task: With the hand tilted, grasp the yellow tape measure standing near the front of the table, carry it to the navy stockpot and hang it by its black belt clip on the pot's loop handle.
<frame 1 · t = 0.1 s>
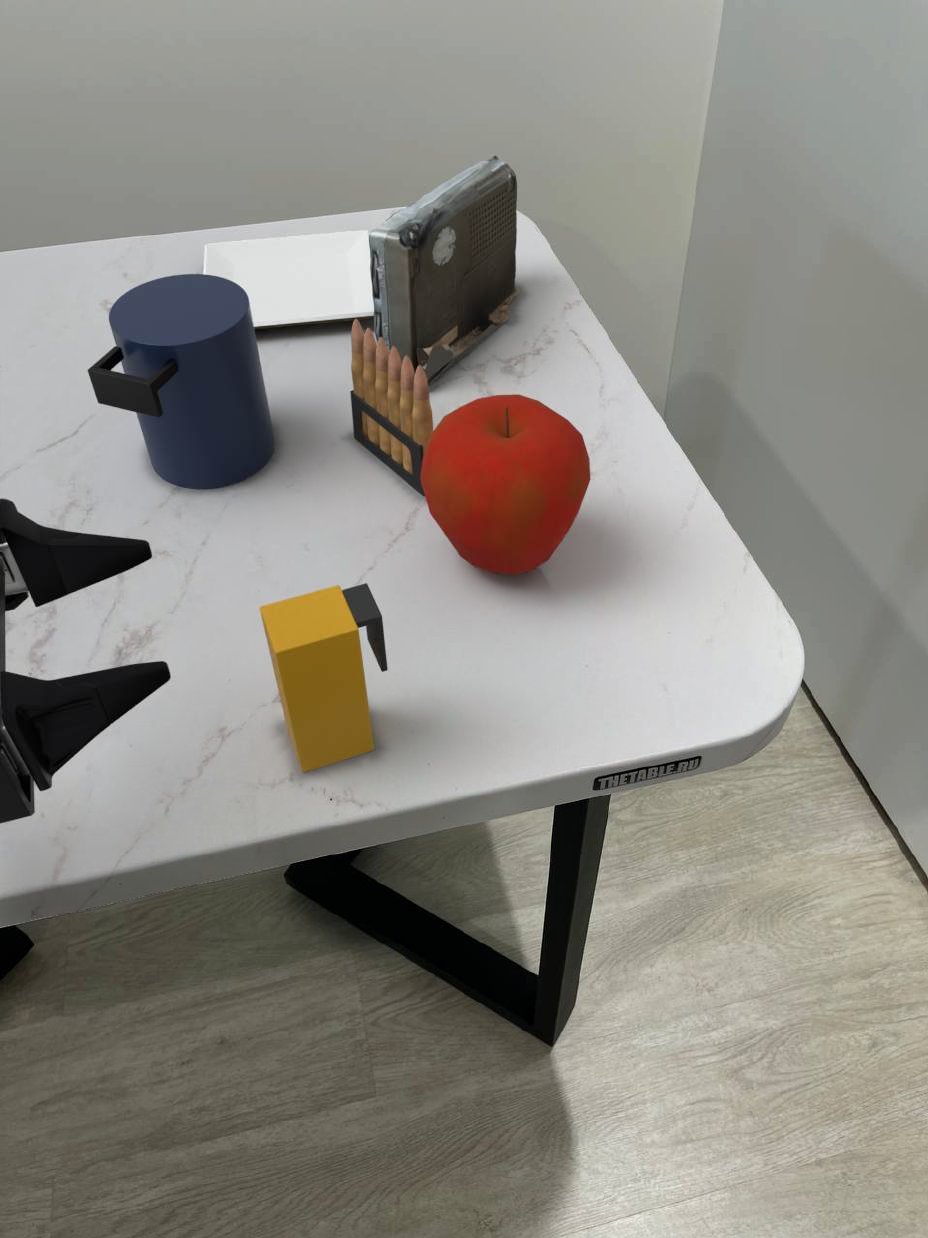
hand: (159, 606, 53), 18 cm above the table, tool horizontal, fingers open, 9 cm apart
plate: (293, 294, 110), on the table
ammunition clip: (396, 463, 89), on the table
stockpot: (213, 449, 91), on the table
radio: (447, 330, 104), on the table
apple: (504, 557, 81), on the table
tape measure: (330, 739, 69), on the table
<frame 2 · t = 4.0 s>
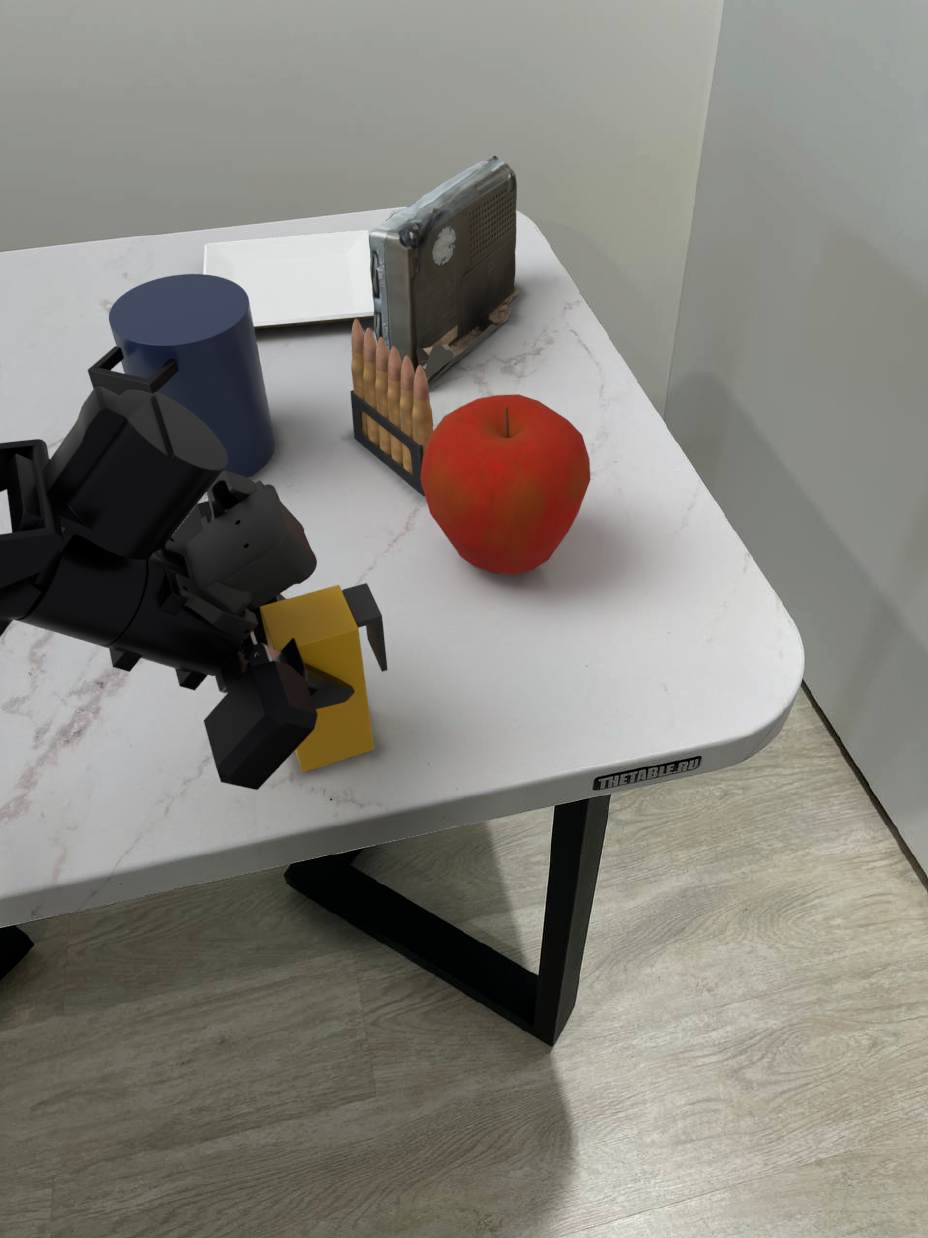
hand: (340, 670, 64), 7 cm above the table, tool tilted 45°, fingers closed on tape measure, 4 cm apart
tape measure: (330, 739, 69), on the table, touching gripper
everything else where it was.
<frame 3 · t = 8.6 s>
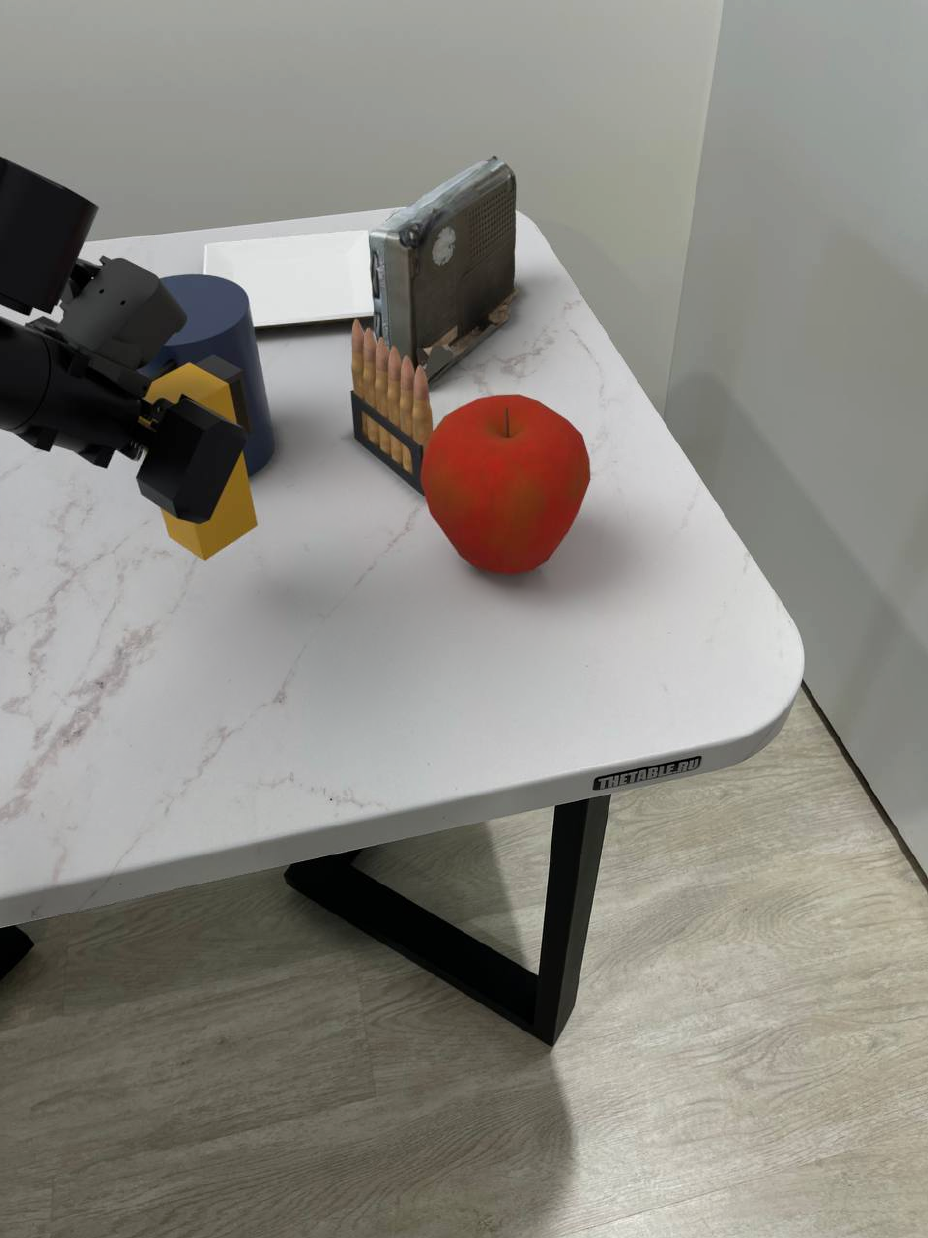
hand: (211, 448, 69), 13 cm above the table, tool tilted 45°, fingers closed on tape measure, 4 cm apart
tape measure: (213, 531, 73), point 7 cm above the table, touching gripper
everything else where it was.
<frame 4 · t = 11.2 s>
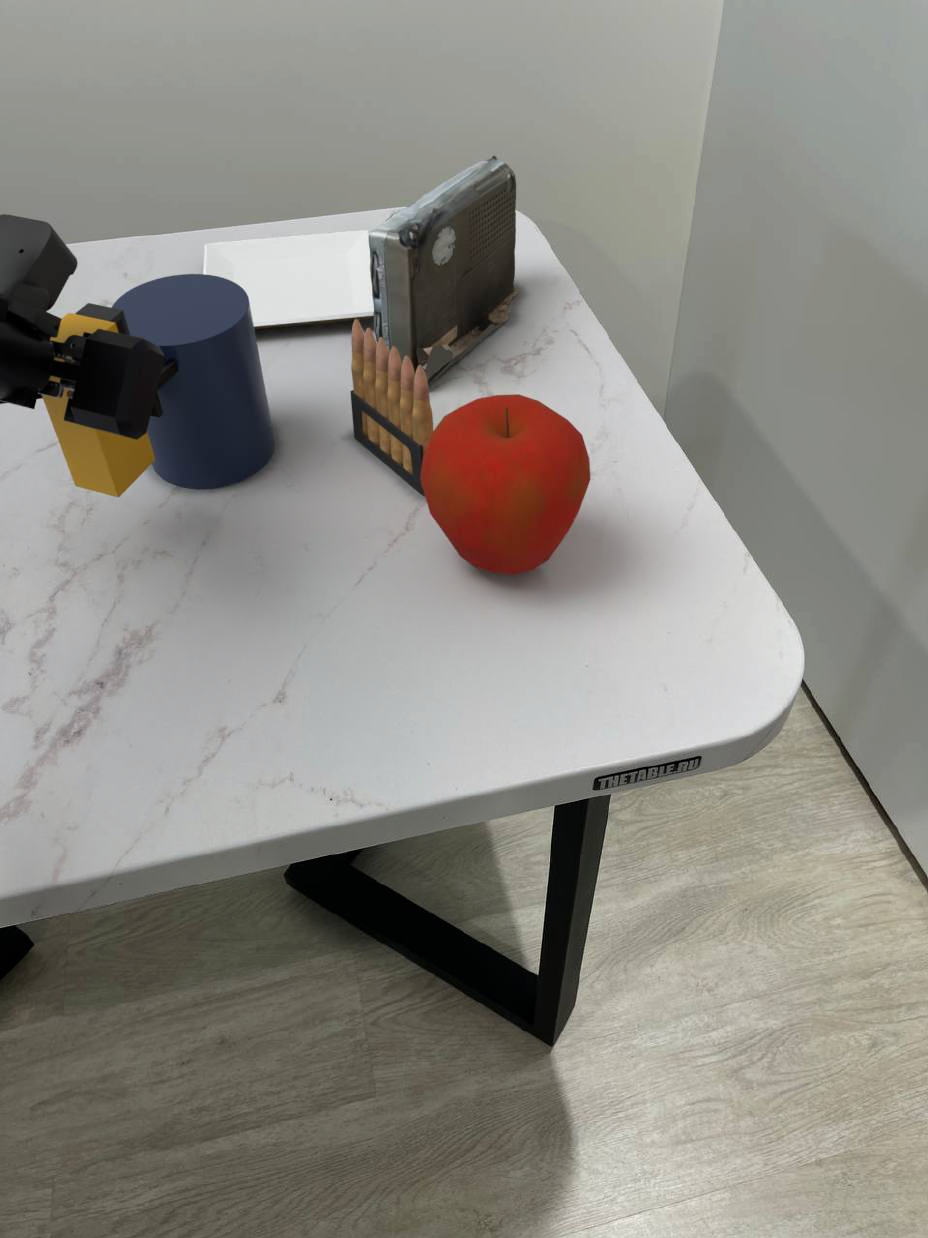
hand: (103, 391, 75), 13 cm above the table, tool tilted 45°, fingers closed on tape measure, 4 cm apart
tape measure: (116, 472, 78), point 6 cm above the table, touching gripper
everything else where it was.
when the fingers open (8 cm above the table, at t = 13.2 s): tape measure stays where it is, resting on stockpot.
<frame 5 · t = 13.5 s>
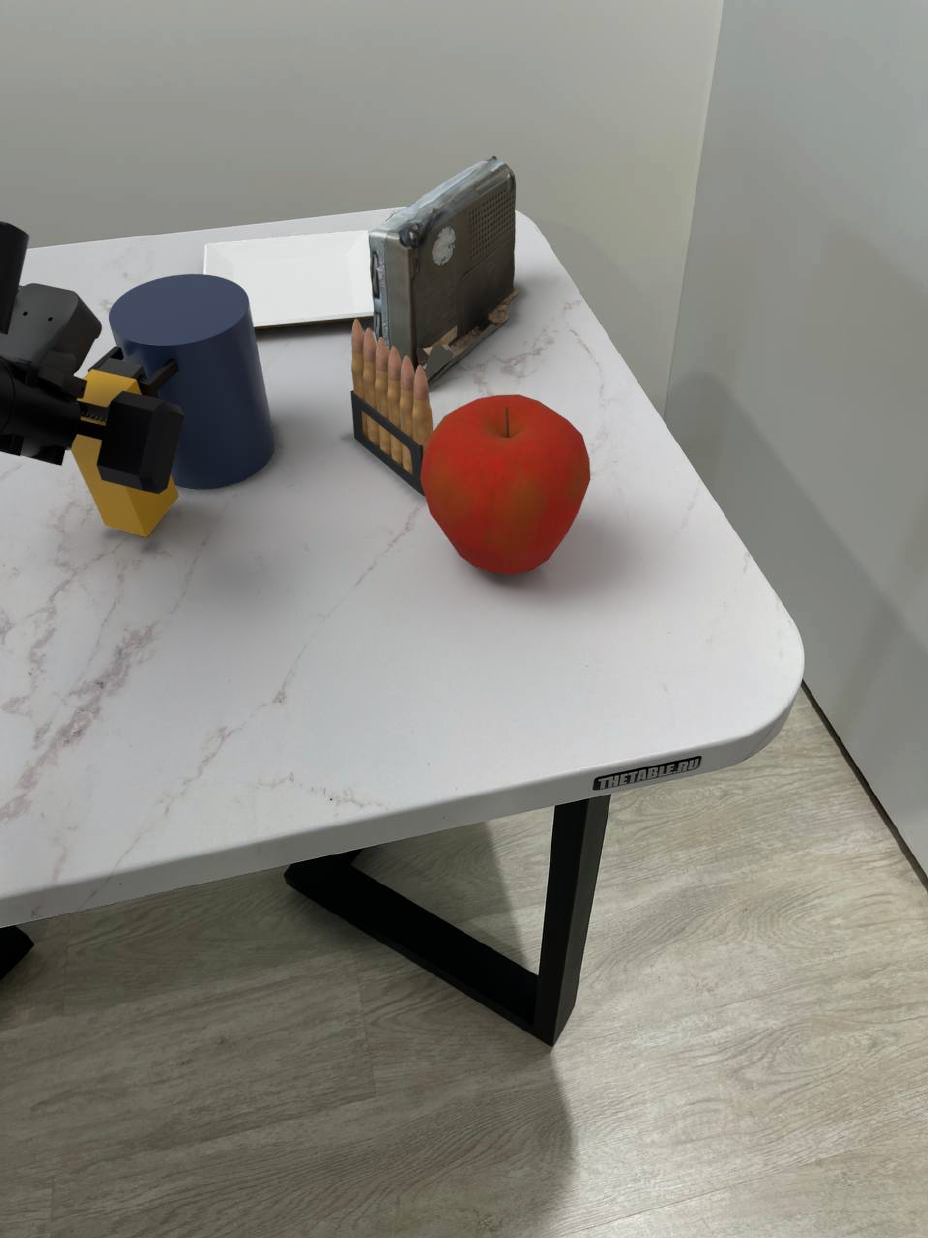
hand: (124, 441, 78), 8 cm above the table, tool tilted 45°, fingers open, 7 cm apart
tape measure: (142, 511, 83), point 1 cm above the table, touching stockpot
everything else where it was.
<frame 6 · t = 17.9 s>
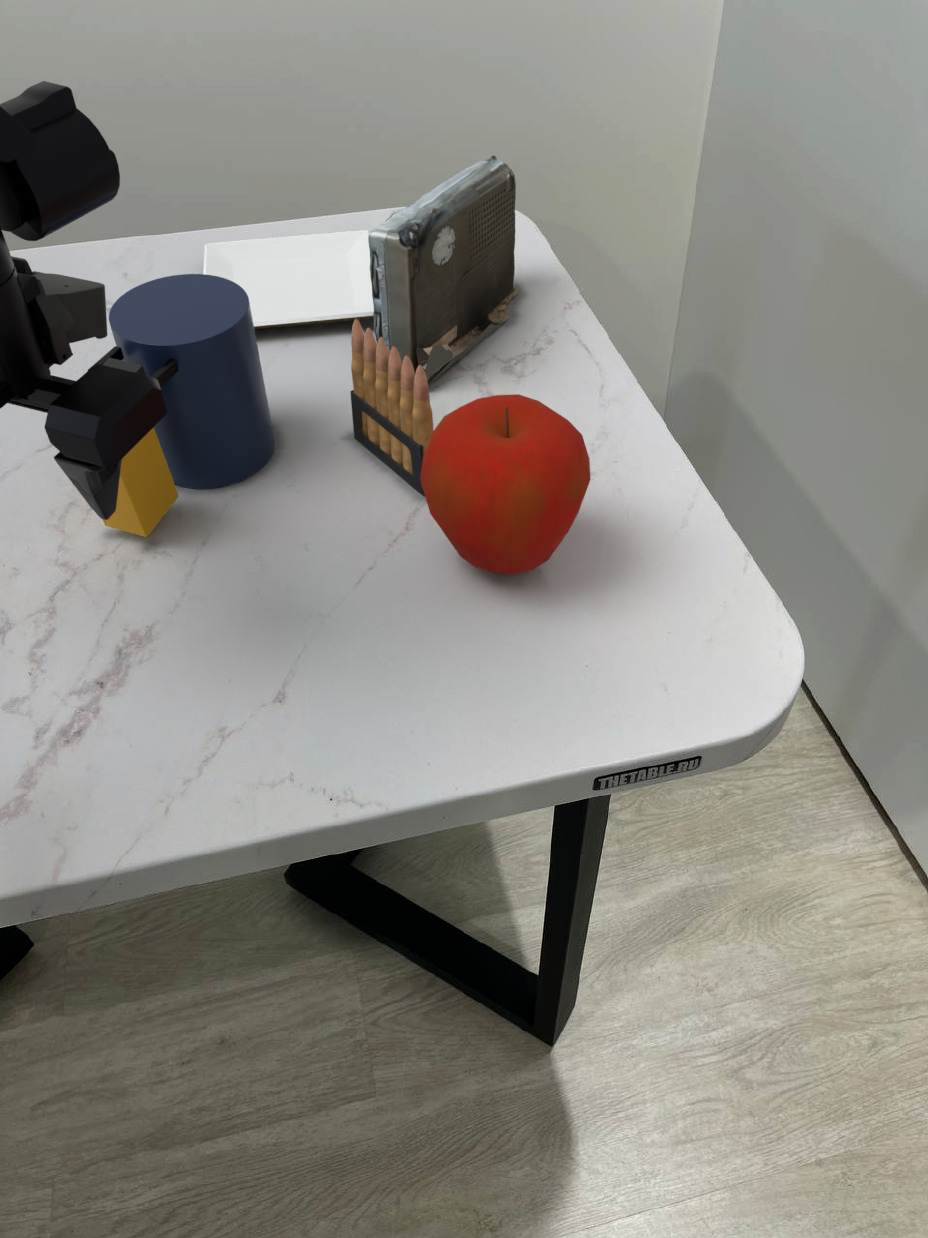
hand: (49, 499, 66), 13 cm above the table, tool pointing down, fingers open, 9 cm apart
nothing on the table moved.
at the end: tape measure inside the target area on the table beside the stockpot (0.9 cm from its centre), point 1.3 cm above the table; the gripper is holding nothing; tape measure moved 28.3 cm from its start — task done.
